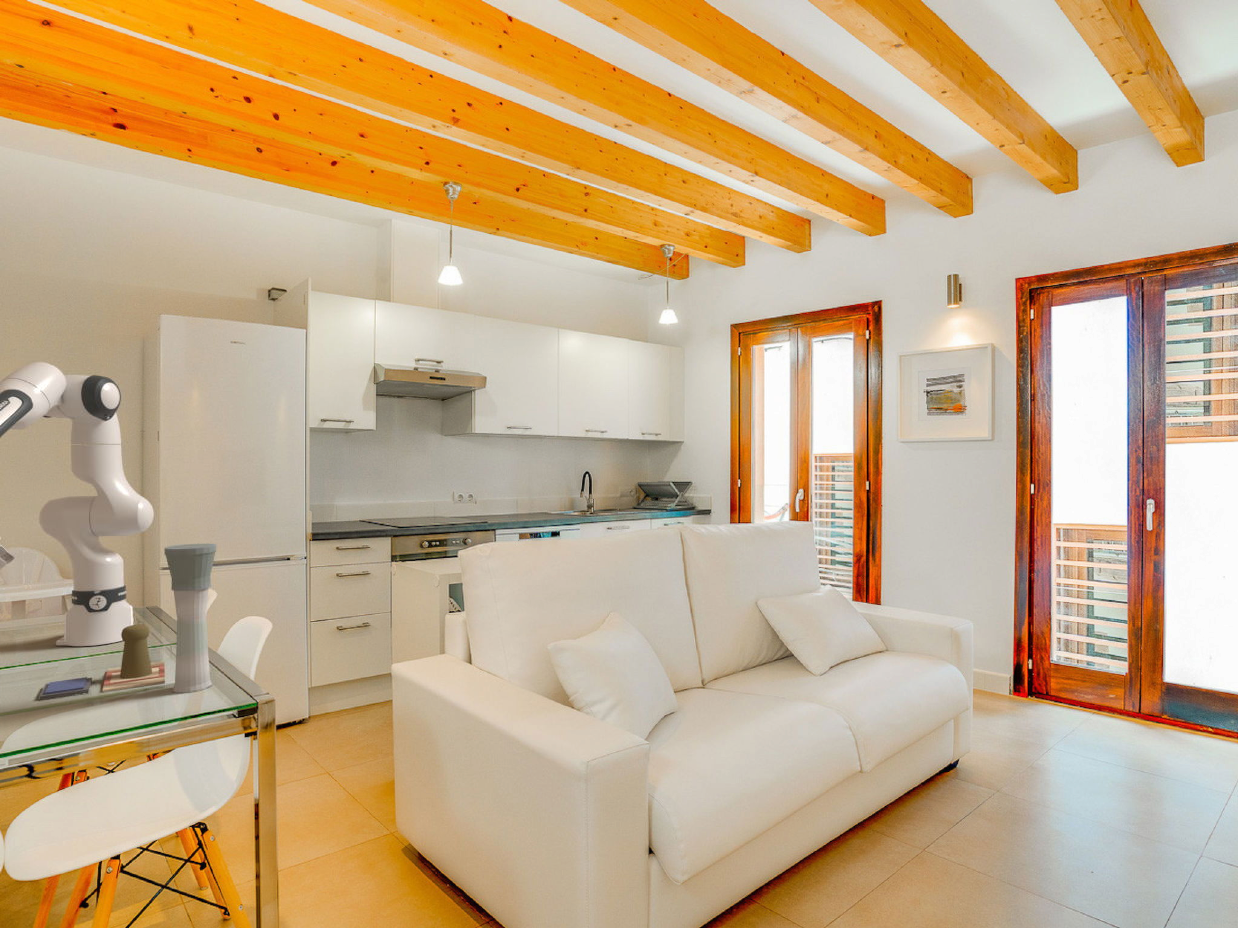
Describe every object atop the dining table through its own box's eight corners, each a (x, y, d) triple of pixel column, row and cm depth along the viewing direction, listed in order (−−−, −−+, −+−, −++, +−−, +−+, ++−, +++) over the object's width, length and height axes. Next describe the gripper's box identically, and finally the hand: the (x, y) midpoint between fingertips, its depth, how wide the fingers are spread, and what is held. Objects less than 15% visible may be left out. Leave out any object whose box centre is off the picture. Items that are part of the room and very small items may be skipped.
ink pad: (45, 687, 155) (45, 681, 155) (91, 680, 159) (91, 675, 159) (39, 700, 146) (39, 694, 146) (88, 693, 150) (88, 687, 150)
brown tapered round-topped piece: (135, 679, 158) (134, 628, 158) (112, 677, 159) (111, 628, 159) (158, 671, 164) (157, 622, 164) (136, 669, 165) (135, 621, 165)
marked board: (107, 671, 166) (107, 668, 166) (164, 663, 172) (164, 661, 172) (102, 692, 151) (102, 689, 151) (164, 682, 157) (164, 680, 157)
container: (157, 690, 152) (154, 547, 152) (202, 678, 160) (200, 542, 160) (182, 697, 147) (179, 549, 147) (227, 684, 155) (225, 544, 155)
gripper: (-54, 511, 140) (13, 557, 145) (-31, 505, 157) (28, 547, 162) (-85, 536, 137) (-16, 582, 143) (-58, 527, 155) (3, 569, 160)
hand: (8, 563), depth 153 cm, fingers open, 8 cm apart
